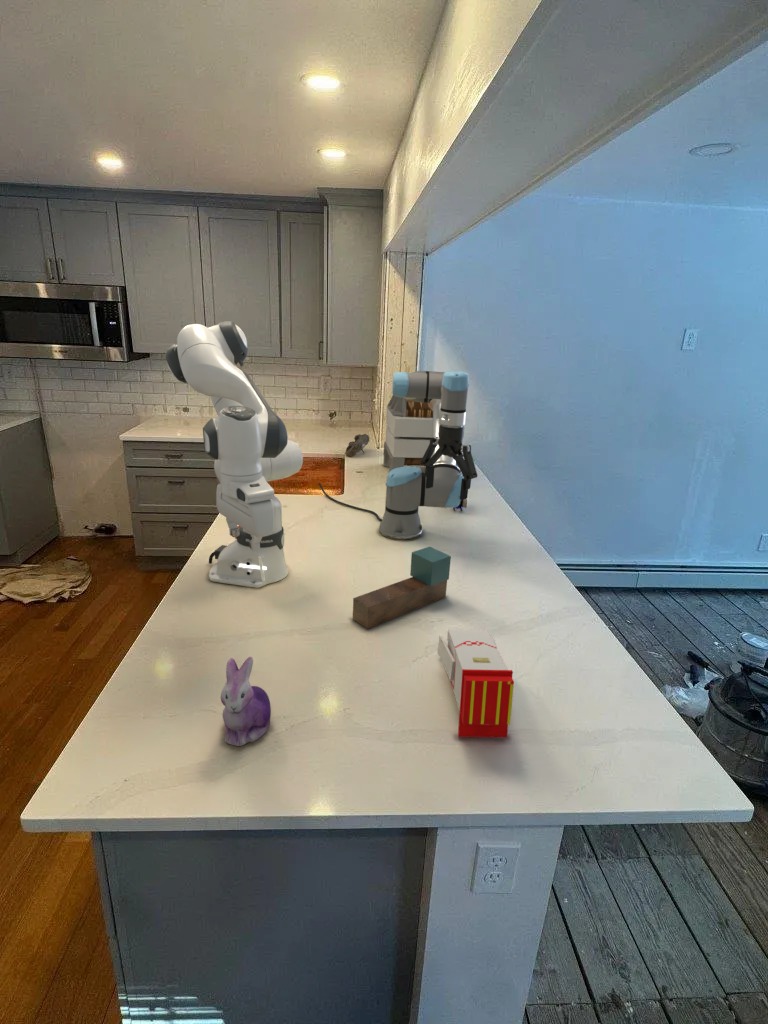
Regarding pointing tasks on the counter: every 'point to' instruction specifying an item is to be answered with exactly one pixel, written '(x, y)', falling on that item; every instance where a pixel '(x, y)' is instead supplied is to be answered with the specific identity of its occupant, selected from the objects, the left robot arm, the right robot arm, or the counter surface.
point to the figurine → (244, 705)
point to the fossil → (357, 445)
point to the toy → (478, 682)
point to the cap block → (430, 566)
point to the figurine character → (462, 504)
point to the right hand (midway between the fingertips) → (446, 493)
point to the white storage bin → (407, 432)
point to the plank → (395, 601)
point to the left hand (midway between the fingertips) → (244, 542)
